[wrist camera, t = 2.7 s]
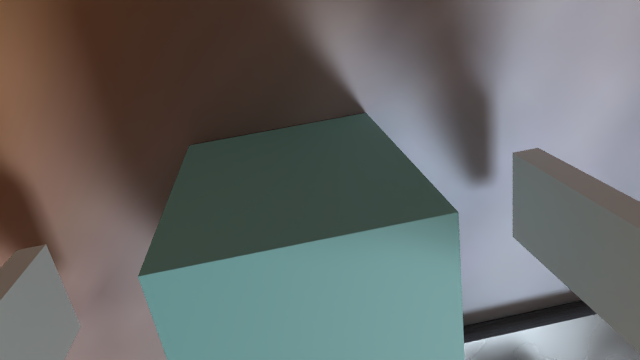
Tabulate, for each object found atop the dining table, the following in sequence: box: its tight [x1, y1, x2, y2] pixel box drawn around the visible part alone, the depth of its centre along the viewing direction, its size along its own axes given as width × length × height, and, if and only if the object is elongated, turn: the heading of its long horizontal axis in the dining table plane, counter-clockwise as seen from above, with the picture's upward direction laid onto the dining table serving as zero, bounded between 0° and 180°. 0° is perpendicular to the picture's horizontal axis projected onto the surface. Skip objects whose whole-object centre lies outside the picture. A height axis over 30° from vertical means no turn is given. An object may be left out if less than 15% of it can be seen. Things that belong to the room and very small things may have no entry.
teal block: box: [138, 113, 465, 360], centre depth 12 cm, size 5×5×7 cm
